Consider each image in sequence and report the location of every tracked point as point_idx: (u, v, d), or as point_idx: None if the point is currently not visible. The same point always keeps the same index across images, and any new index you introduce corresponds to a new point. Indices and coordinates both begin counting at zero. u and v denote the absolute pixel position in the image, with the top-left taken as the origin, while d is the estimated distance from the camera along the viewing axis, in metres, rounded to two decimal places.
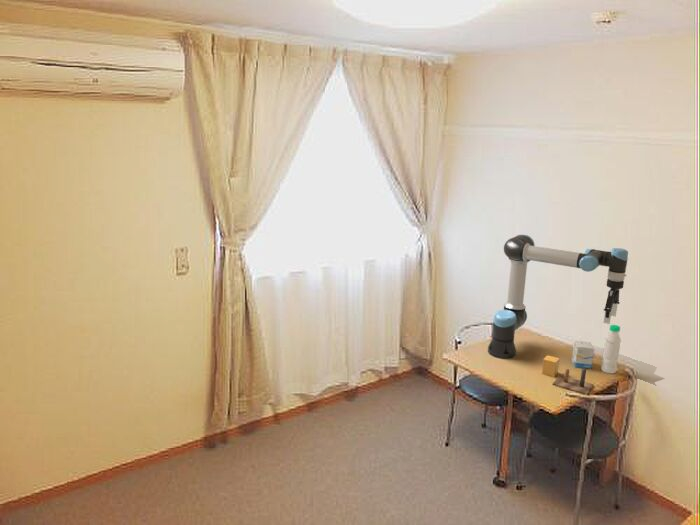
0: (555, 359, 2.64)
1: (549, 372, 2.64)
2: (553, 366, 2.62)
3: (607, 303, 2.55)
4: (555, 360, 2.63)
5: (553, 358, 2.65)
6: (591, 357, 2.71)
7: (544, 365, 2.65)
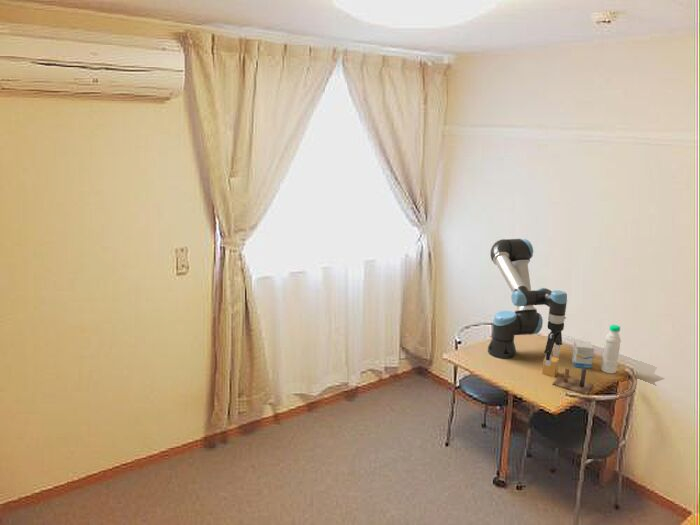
0: (555, 359, 2.64)
1: (549, 372, 2.64)
2: (553, 366, 2.62)
3: (547, 346, 2.55)
4: (555, 360, 2.63)
5: (553, 358, 2.65)
6: (591, 357, 2.71)
7: (544, 365, 2.65)
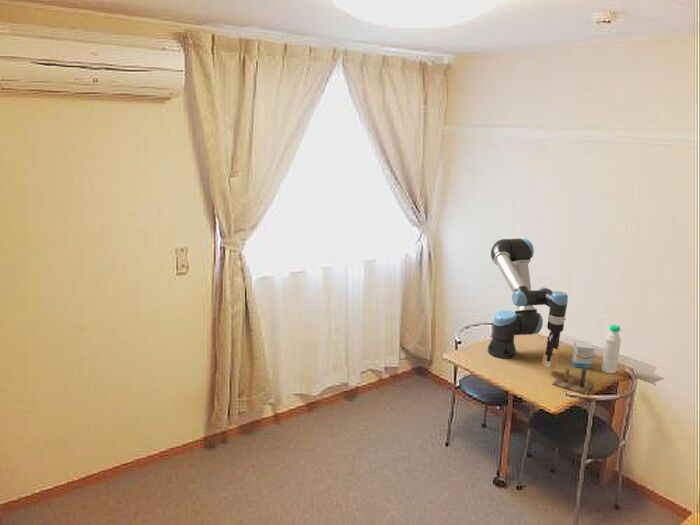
0: (556, 351, 2.63)
1: None
2: (553, 357, 2.61)
3: (547, 348, 2.58)
4: (555, 351, 2.62)
5: (553, 349, 2.64)
6: (591, 357, 2.71)
7: (544, 356, 2.64)
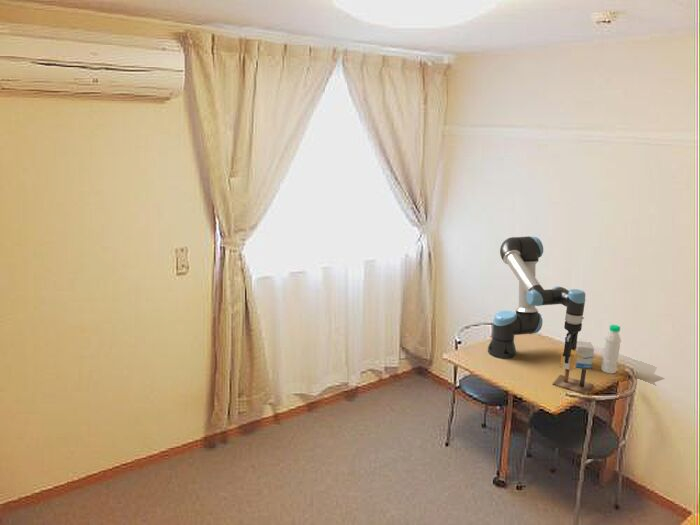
0: (574, 352, 2.51)
1: None
2: (572, 359, 2.49)
3: (565, 349, 2.47)
4: (574, 353, 2.50)
5: (571, 351, 2.52)
6: (591, 357, 2.71)
7: (562, 358, 2.52)
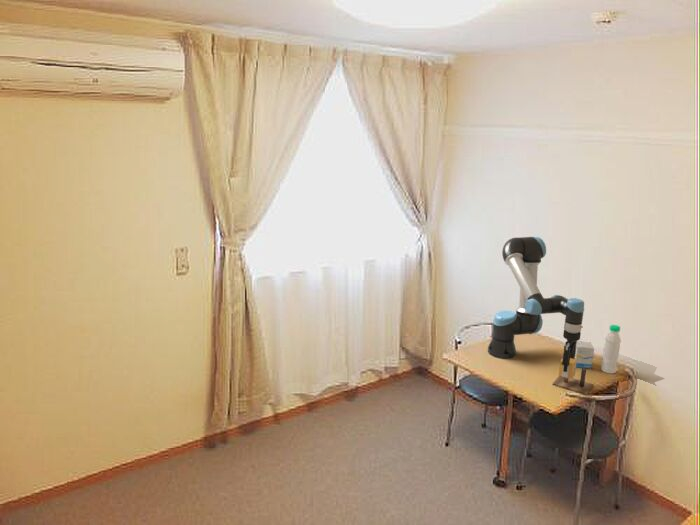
0: (573, 360, 2.52)
1: None
2: (571, 367, 2.50)
3: (564, 358, 2.48)
4: (572, 361, 2.51)
5: (570, 359, 2.54)
6: (591, 357, 2.71)
7: (560, 366, 2.53)
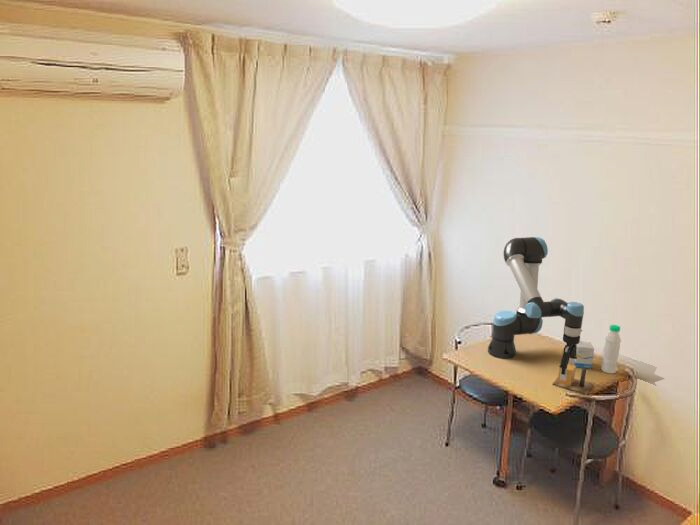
0: (572, 367, 2.53)
1: (565, 381, 2.53)
2: (569, 374, 2.51)
3: (562, 360, 2.46)
4: (571, 368, 2.52)
5: (569, 366, 2.55)
6: (591, 357, 2.71)
7: (559, 373, 2.54)
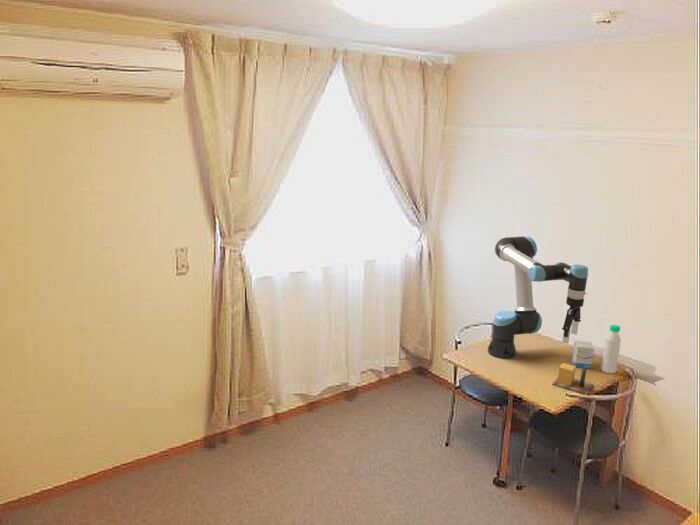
0: (572, 367, 2.53)
1: (565, 381, 2.53)
2: (569, 374, 2.51)
3: (565, 322, 2.44)
4: (571, 368, 2.52)
5: (569, 366, 2.55)
6: (591, 357, 2.71)
7: (559, 373, 2.54)
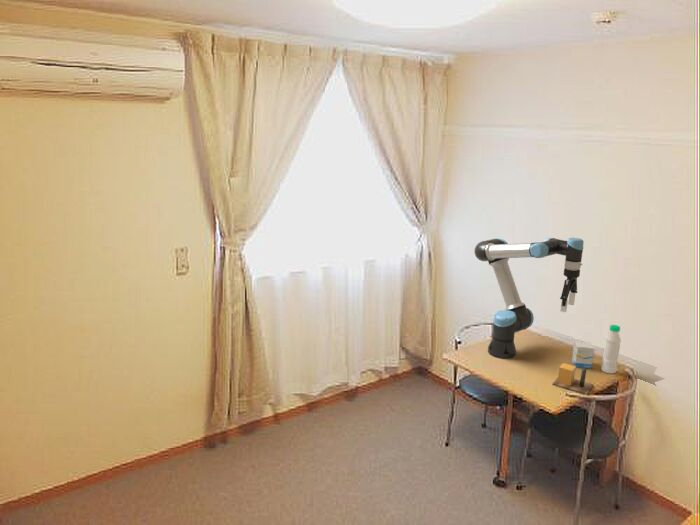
0: (572, 367, 2.53)
1: (565, 381, 2.53)
2: (569, 374, 2.51)
3: (563, 292, 2.59)
4: (571, 368, 2.52)
5: (569, 366, 2.55)
6: (591, 357, 2.71)
7: (559, 373, 2.54)
